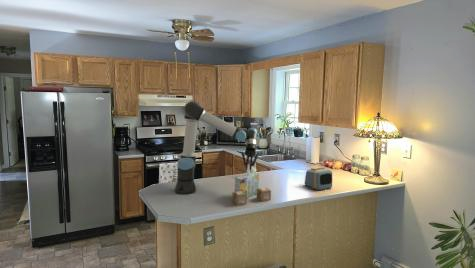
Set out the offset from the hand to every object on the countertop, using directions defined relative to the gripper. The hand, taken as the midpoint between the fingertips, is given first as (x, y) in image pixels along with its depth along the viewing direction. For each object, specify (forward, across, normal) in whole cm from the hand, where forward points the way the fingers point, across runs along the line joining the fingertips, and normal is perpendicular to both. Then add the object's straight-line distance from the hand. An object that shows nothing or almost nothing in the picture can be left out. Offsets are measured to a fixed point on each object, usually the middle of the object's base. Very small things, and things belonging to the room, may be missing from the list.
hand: (248, 173), depth 214 cm
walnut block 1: (+22, +4, -1) cm, 23 cm away
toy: (-21, +5, -44) cm, 49 cm away
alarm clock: (-14, -51, -38) cm, 66 cm away
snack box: (+12, +1, -12) cm, 17 cm away
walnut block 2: (+14, -11, -10) cm, 20 cm away
